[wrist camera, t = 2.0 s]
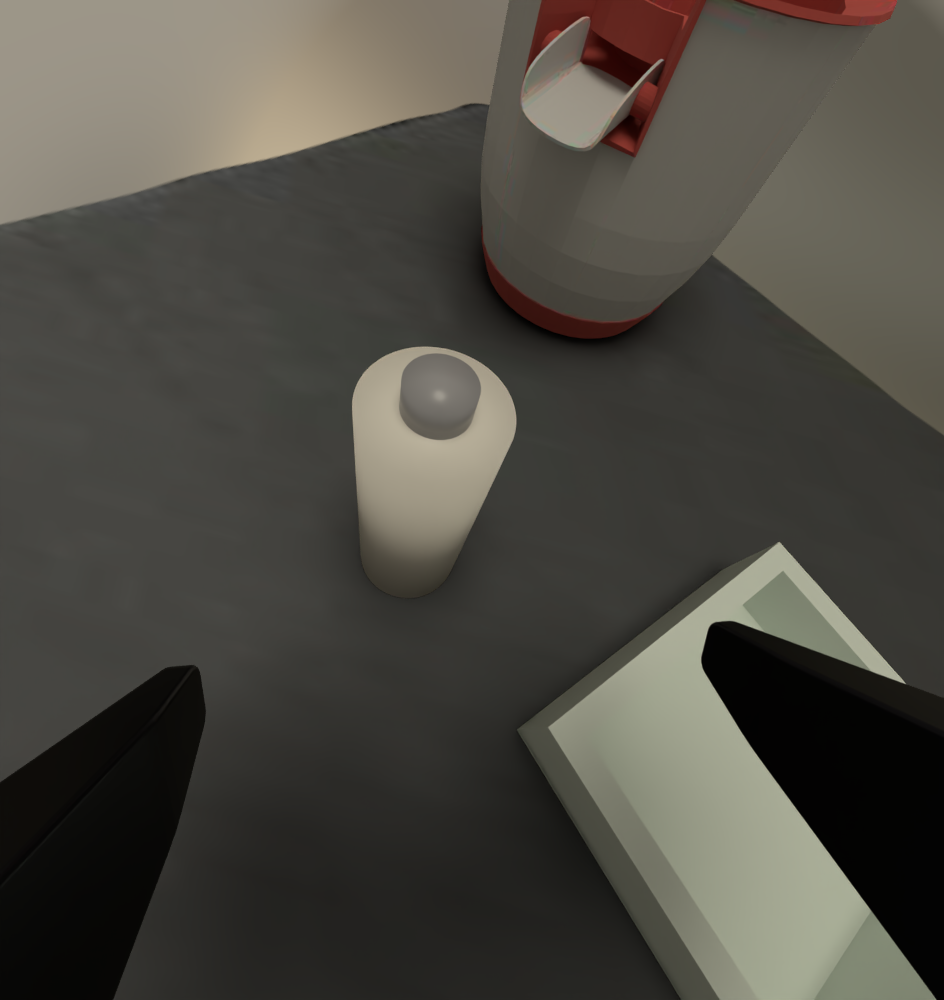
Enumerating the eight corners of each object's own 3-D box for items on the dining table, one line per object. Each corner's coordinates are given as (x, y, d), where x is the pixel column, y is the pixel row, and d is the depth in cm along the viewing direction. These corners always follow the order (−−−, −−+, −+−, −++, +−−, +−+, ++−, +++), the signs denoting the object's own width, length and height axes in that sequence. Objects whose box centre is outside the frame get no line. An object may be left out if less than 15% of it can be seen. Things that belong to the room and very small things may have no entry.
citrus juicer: (391, 281, 30) (417, -350, 13) (536, 188, 38) (674, -277, 21) (588, 424, 28) (952, -107, 10) (698, 293, 36) (1009, -131, 18)
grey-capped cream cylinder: (389, 616, 21) (408, 489, 10) (343, 535, 22) (318, 348, 11) (471, 568, 22) (560, 418, 12) (424, 496, 24) (467, 302, 13)
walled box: (757, 1124, 15) (869, 1236, 12) (516, 729, 20) (548, 727, 16) (939, 830, 21) (1053, 849, 17) (722, 569, 25) (779, 542, 22)
